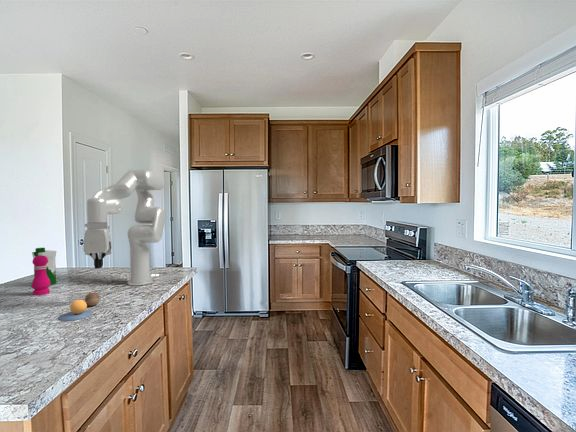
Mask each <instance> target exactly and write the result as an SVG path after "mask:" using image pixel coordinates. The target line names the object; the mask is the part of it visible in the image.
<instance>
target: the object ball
mask: <svg viewBox="0 0 576 432" xmlns="http://www.w3.org/2000/svg"><path fill="white" fill-rule="evenodd" d="M87 307H88V305H87V304H86V302H85V300H83V299H76V300H74V301H73V302H72V303H71V304H70V307H69V309H70V311H71V312H72V313H74V314H81V313H83V312H84V311H87Z"/></svg>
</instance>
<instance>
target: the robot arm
mask: <svg viewBox="0 0 576 432" xmlns="http://www.w3.org/2000/svg"><path fill="white" fill-rule="evenodd" d="M163 188H165V179H164V177H163V176H162V175H161V174H159V173H156V172H155V171H152V170H149V169H131V170H128V171H127V172H126V173H124V175H122V177H121V178H119V180H118V181H117V182H115V183H113V184H111V185H109V186H107V187H105V188H103V189H100V190H99V191H97V192H96V193H95V194H93V196H92V197H91V198H88V199H87V201H86V217H87V218H86V219H87V223H85V224H84V227H85V228H86V229H85V231H84V237H83V245H82V246H83V248H82V249H83V252H84V255H86V256H90V257H91V258H92V259H93V266H94V269H101V268H103V265H104V258H105V257H106V256H108V255H111V254H112V247H113V244H112V237H111V233H110V232H111V231H110V229H109V228H108V215H117V214H120V213H121V212H122V211H123V207H124V206H123V205H124V204H123V202H122V201H121V200H122V199H124V198H125V199H126V198H128V197H130V196H131V195H132V194H133V193H134V191H135V192H136V194H137V195H136V196H137V204H136V208H135V213H134V221H135V222H136V223H137V224H135V225H132V226H131V227H129V229H128V230H127V239H128V243H129V244H128V245H129V251H130V252H129V253H130V254H129V255H130V256H129V257H130V259H129V260H130V262H129V264H130V280H128V281H127V285H129V286H144V285H145V286H146V285H149V284H151V283H153V282H154V280H153V279H155V278H159V276H160V274H159V273H151V271H150V269H151V268H150V267H151V266H150V247H148V245H147V244H149V243H151V244H157V243H159V242H160V241H161V240H162V237H163V234H164V228H165V222H166V213H165V212H166V211H165V210H164V208H163V207H161V206H155V198H154V196H153V195H152V193H151V192H150V191H161V190H162V189H163Z"/></svg>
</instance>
